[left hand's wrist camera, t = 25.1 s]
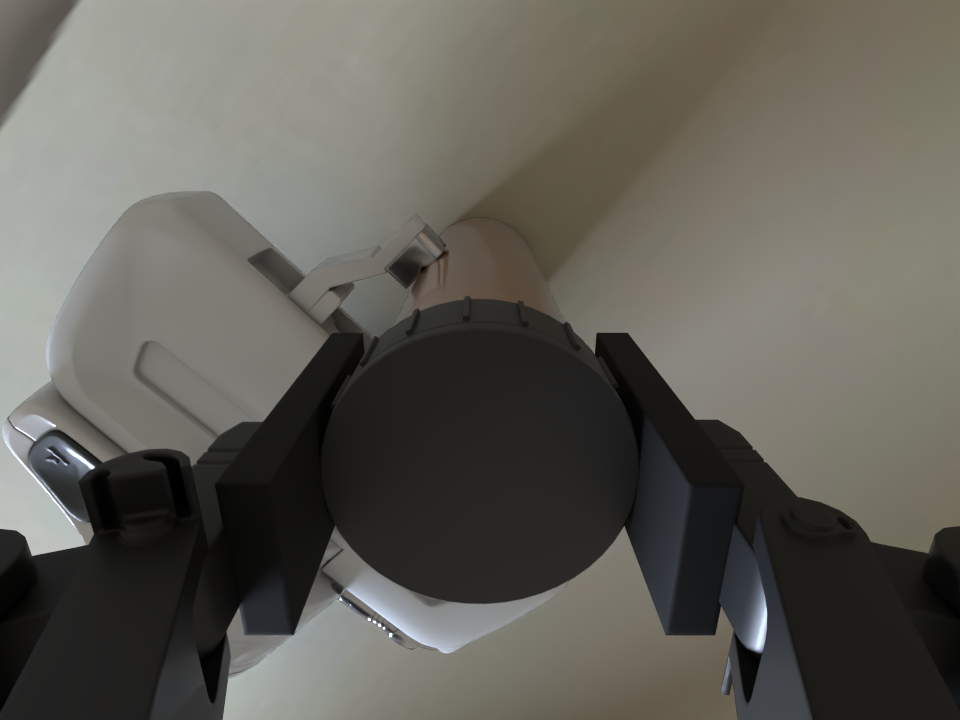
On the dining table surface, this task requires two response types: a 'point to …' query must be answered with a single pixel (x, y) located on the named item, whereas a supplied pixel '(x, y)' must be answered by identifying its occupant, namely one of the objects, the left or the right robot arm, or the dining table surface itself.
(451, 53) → the dining table surface
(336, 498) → the lid
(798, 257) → the dining table surface
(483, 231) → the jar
